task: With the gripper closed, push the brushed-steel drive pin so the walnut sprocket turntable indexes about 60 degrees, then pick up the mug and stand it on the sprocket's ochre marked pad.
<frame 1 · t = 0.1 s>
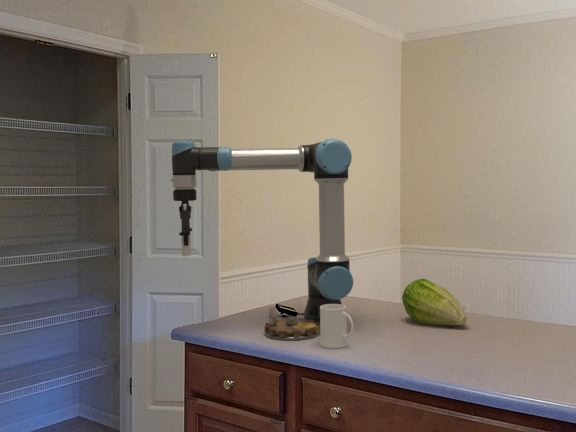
hand: (186, 253, 193), 28 cm above the worktop, fingers open, 13 cm apart
sprocket: (291, 318, 197), point 5 cm above the worktop, hinge at 0.0°
lettuce: (434, 324, 206), on the worktop
mug: (337, 346, 181), on the worktop
base plate: (292, 333, 197), on the worktop
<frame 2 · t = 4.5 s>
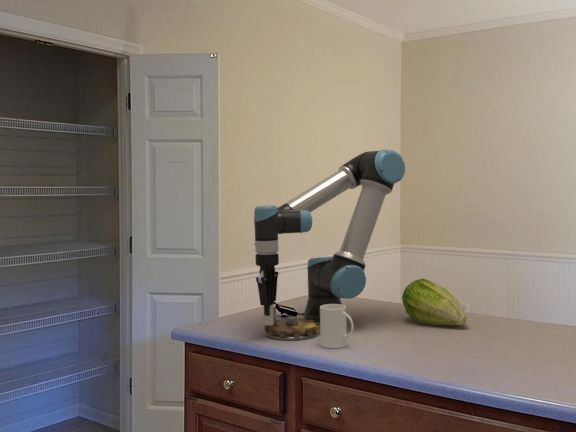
hand: (268, 324, 192), 4 cm above the worktop, fingers closed
sprocket: (291, 318, 197), point 5 cm above the worktop, hinge at 0.0°, touching gripper
everything else where it was.
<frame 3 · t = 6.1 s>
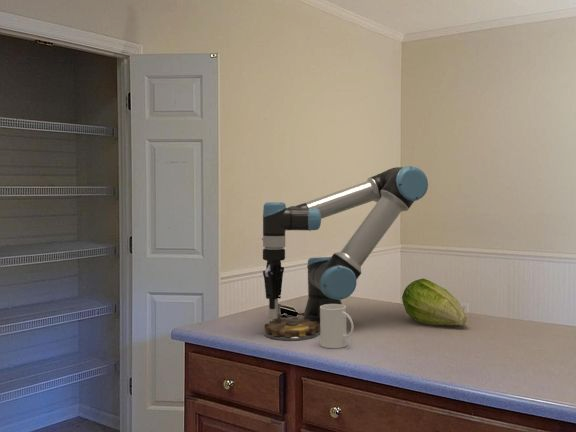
hand: (273, 317, 198), 5 cm above the worktop, fingers closed
sprocket: (291, 318, 197), point 5 cm above the worktop, hinge at -48.6°, touching gripper
everything else where it was.
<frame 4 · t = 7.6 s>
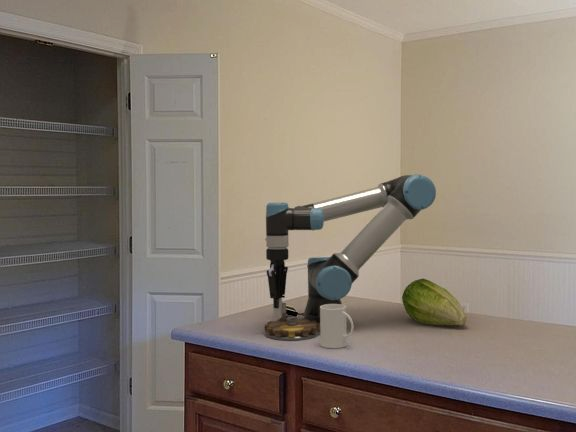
hand: (277, 317, 199), 5 cm above the worktop, fingers closed
sprocket: (291, 318, 197), point 5 cm above the worktop, hinge at -70.9°, touching gripper
everything else where it was.
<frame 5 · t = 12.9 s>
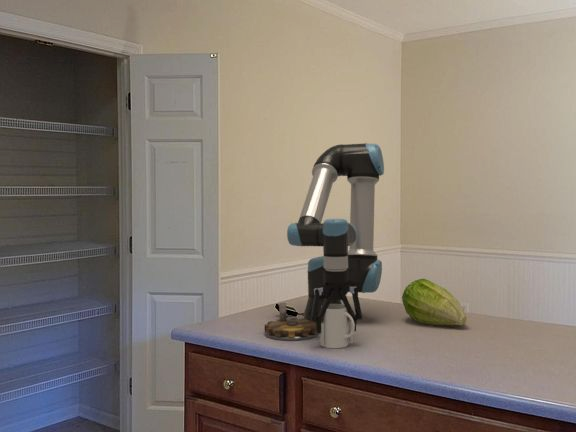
hand: (336, 342, 181), 1 cm above the worktop, fingers closed on mug, 8 cm apart
sprocket: (291, 318, 197), point 5 cm above the worktop, hinge at -71.0°
mug: (338, 346, 181), on the worktop, touching gripper
everything else where it was.
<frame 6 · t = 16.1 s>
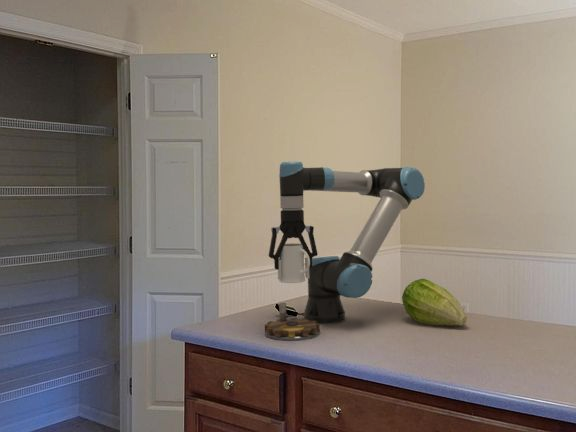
hand: (293, 278, 192), 19 cm above the worktop, fingers closed on mug, 8 cm apart
mug: (295, 282, 192), point 18 cm above the worktop, touching gripper
everything else where it was.
when the fingers open (6 cm above the worktop, at t = 19.0 s): mug drops 1 cm, resting on sprocket.
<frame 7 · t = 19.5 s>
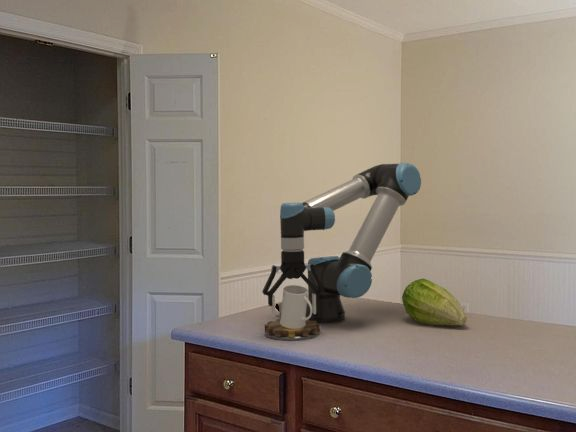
hand: (293, 314, 192), 7 cm above the worktop, fingers open, 13 cm apart
sprocket: (291, 318, 197), point 5 cm above the worktop, hinge at -71.0°, touching mug
mug: (295, 326, 193), point 3 cm above the worktop, touching sprocket
everything else where it was.
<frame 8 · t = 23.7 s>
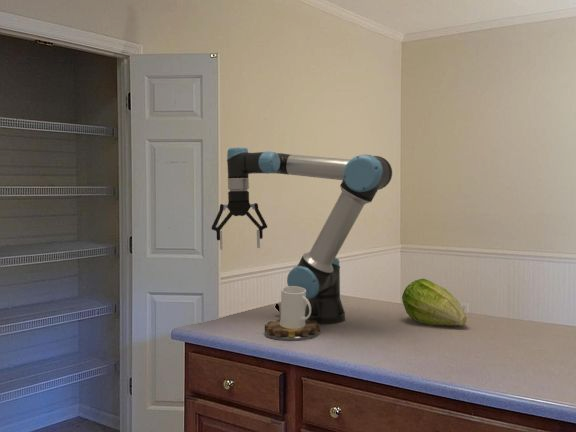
hand: (240, 248, 215), 27 cm above the worktop, fingers open, 13 cm apart
at the end: sprocket at -71° (first picture: +0°); mug inside the target area (0.5 cm from its centre), point 3.2 cm above the worktop; mug tilted 9° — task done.
